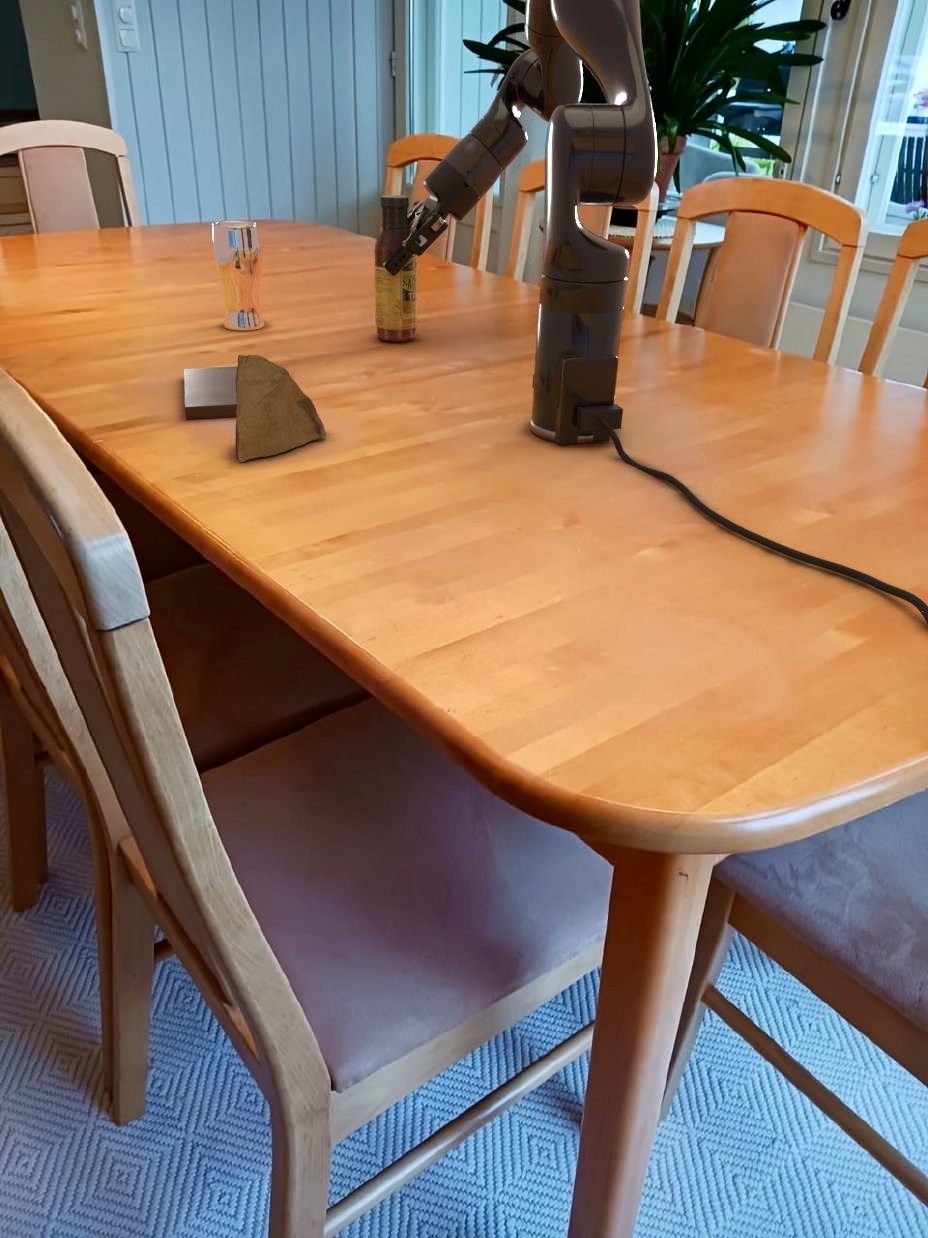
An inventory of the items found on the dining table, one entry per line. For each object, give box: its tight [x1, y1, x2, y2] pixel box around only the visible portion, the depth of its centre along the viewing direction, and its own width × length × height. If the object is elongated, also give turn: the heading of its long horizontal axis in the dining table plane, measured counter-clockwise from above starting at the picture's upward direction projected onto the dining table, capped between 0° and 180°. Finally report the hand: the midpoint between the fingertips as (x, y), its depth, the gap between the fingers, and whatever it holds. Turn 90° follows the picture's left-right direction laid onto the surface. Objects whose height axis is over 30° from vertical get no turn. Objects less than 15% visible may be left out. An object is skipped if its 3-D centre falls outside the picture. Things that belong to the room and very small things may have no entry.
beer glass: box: [211, 220, 265, 332], centre depth 144 cm, size 7×7×15 cm
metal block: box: [183, 366, 237, 420], centre depth 117 cm, size 16×12×2 cm
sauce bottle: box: [373, 194, 418, 342], centre depth 138 cm, size 7×6×20 cm
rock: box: [234, 354, 327, 463], centre depth 100 cm, size 11×9×10 cm
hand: (384, 266), depth 138 cm, fingers closed on sauce bottle, 6 cm apart
